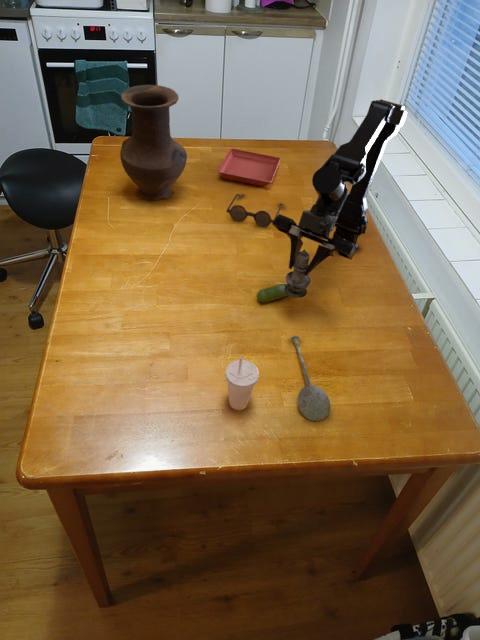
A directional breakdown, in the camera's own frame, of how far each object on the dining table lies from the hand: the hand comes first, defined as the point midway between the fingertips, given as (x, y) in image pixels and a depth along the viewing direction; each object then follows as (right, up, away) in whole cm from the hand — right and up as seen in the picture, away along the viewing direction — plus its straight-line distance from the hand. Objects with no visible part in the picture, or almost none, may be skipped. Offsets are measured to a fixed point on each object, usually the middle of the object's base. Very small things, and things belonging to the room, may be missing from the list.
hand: (297, 272), depth 109 cm
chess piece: (0, -4, +6) cm, 7 cm away
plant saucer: (-10, +39, +57) cm, 70 cm away
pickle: (-5, -5, +13) cm, 15 cm away
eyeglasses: (-8, +22, +40) cm, 47 cm away
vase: (-39, +29, +43) cm, 65 cm away
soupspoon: (+1, -23, -4) cm, 24 cm away
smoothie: (-13, -27, -10) cm, 32 cm away
